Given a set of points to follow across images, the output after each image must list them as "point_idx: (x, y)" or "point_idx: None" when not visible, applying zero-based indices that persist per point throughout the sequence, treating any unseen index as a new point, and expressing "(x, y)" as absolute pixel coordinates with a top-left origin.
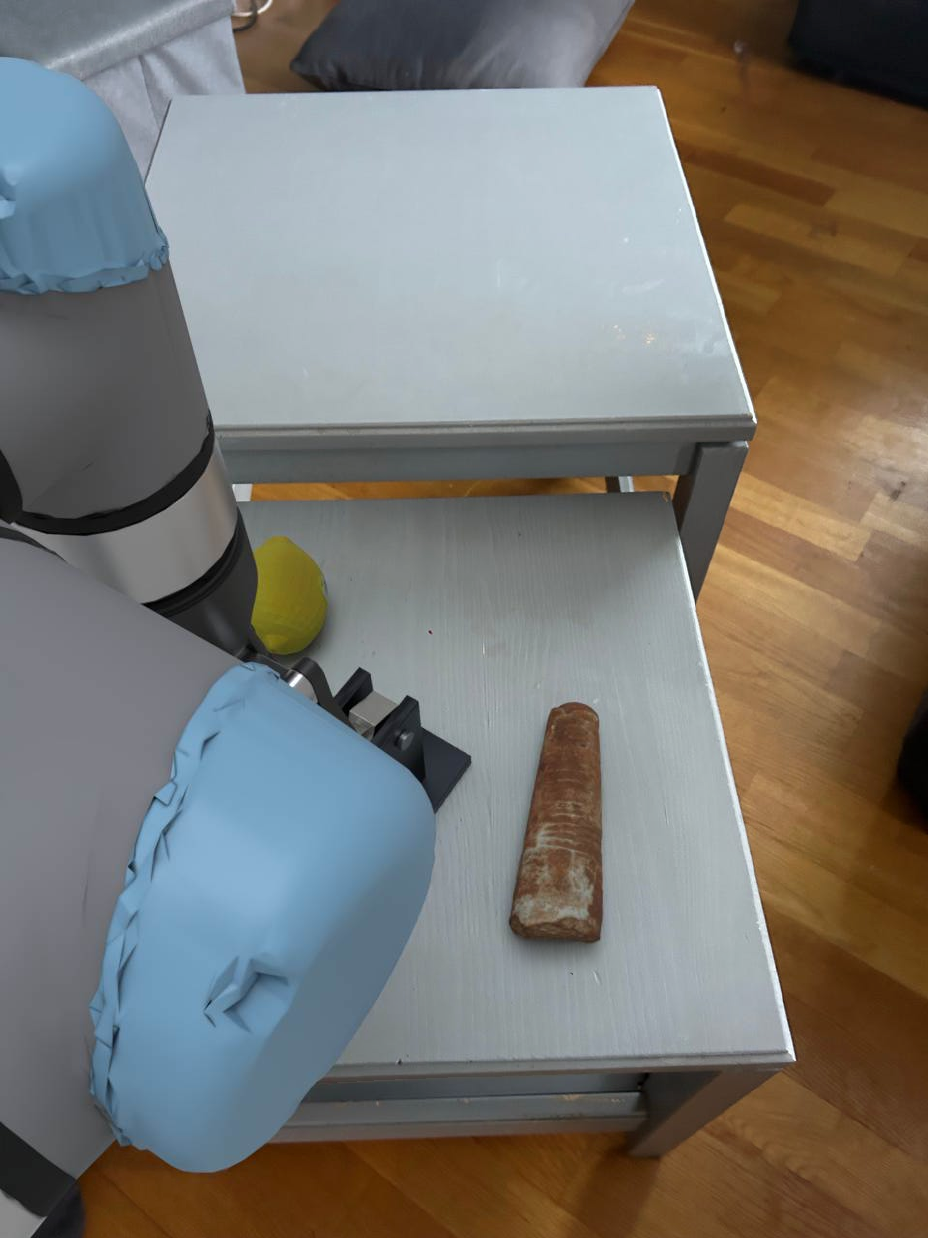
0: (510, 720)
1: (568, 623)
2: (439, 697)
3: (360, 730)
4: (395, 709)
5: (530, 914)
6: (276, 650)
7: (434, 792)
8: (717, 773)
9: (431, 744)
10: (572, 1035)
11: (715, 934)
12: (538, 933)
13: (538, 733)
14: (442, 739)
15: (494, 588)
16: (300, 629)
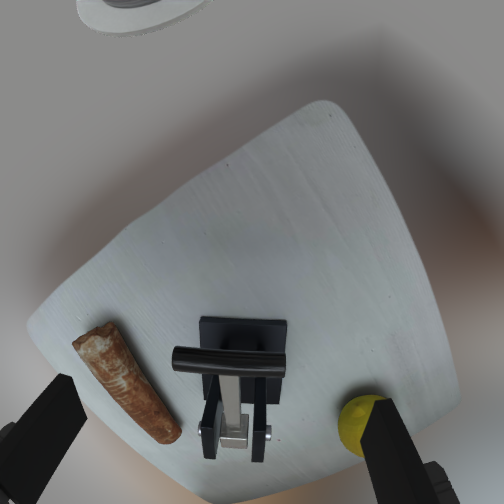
0: None
1: (213, 463)
2: (249, 416)
3: (230, 429)
4: (214, 450)
5: (94, 342)
6: (355, 406)
7: (208, 375)
8: (105, 422)
9: None
10: (70, 286)
11: (58, 357)
12: (89, 333)
13: (185, 418)
14: None
15: (261, 466)
16: (346, 425)
